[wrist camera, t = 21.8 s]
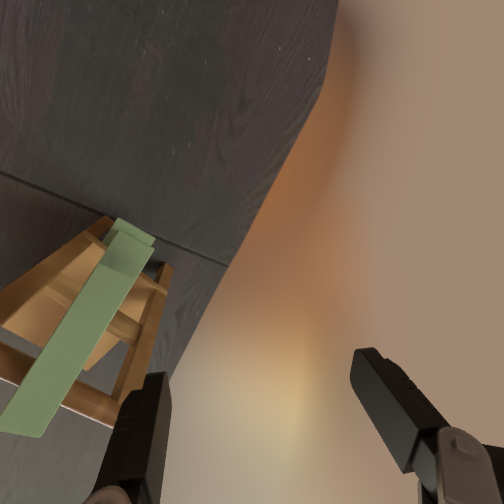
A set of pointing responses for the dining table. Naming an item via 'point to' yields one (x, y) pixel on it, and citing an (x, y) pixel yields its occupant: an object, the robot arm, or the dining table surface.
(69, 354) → the hook
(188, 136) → the dining table surface
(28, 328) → the chair
